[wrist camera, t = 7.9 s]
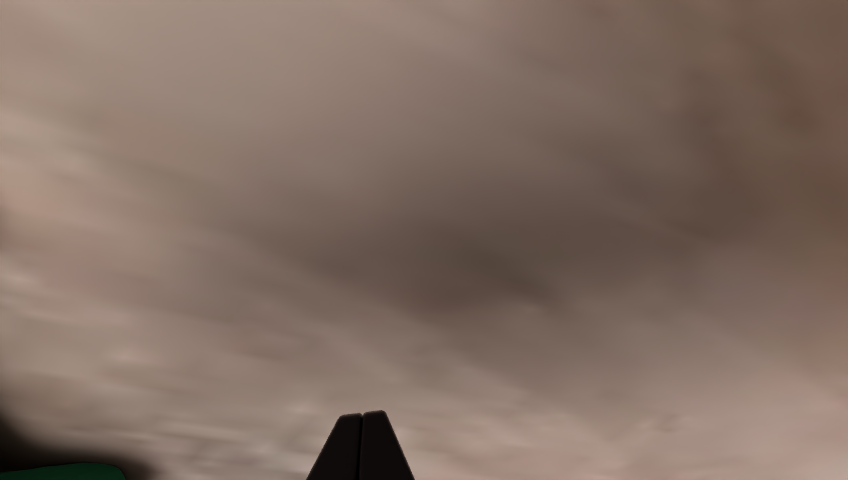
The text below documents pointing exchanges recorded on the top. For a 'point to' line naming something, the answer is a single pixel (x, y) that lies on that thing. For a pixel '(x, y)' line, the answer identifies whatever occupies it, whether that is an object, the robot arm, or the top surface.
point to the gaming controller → (67, 473)
